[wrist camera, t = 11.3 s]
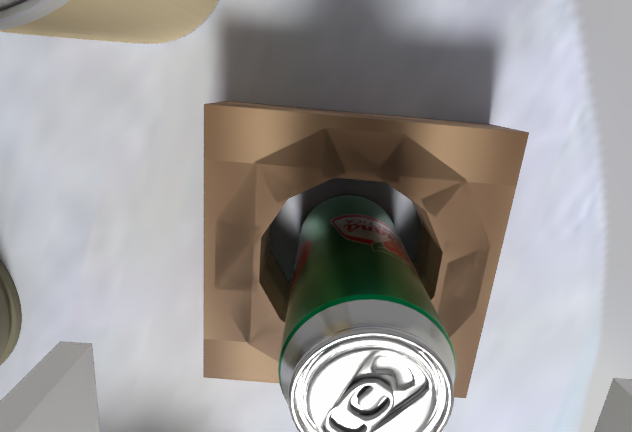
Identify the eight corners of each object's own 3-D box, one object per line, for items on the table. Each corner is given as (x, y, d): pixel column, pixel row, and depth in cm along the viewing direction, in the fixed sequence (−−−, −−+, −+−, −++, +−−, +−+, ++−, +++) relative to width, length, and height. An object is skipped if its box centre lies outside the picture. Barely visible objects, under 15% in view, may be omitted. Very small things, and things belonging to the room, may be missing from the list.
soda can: (413, 229, 22) (512, 388, 10) (354, 296, 23) (383, 503, 12) (338, 172, 21) (355, 278, 9) (281, 245, 22) (235, 415, 11)
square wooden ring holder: (222, 331, 24) (203, 377, 20) (226, 101, 20) (203, 104, 16) (442, 348, 24) (465, 398, 20) (489, 124, 20) (529, 132, 16)
